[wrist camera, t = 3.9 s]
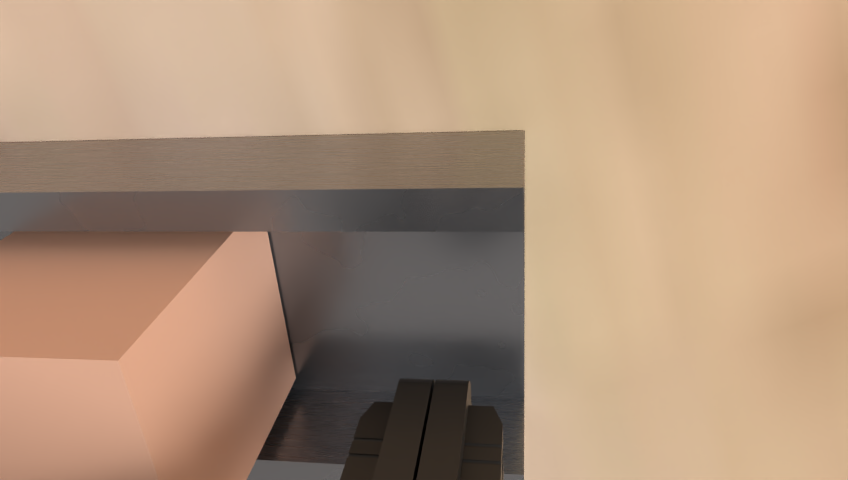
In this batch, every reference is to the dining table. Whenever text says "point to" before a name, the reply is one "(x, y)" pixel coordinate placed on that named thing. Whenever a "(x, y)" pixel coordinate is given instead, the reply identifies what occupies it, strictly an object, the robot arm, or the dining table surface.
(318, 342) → the chute
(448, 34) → the dining table surface
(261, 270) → the terracotta block
